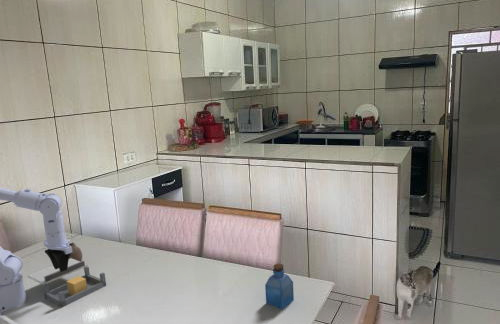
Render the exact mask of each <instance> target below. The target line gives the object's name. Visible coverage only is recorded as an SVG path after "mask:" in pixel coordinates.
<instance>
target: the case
mask: <svg viewBox="0 0 500 324" xmlns="http://www.w3.org/2000/svg"><path fill="white" fill-rule="evenodd" d="M83 270H84V271H83V273H84V275H81V277H82V278H85V279H86V284H87V289H85V290H83V291H80V292H78V293H76V294H74V295H70V294H68V287H67V282H66V283H64V284H62V285H59V286H57V287H56V288H53V289H50V287H49V283H47V284H45V285H43V284H42V286H43V287H42V289H43V294H44V299H46V300H48V301H49V302H51V303H53V304H54V305H57V306H58V307H61V308H64V307H67V306H68V305H71V304H73V303H75V302H76V301H79V300H80V299H83V298H84V297H87V296H89V295H91V294H92V293H94V292H97V291H99V290H101V289H103V288H104V287H106V286H107V280H106V273H105V272H99V277H96V276H94V275H92V274H91V273H90V267H89V266H86V267H84V268H83Z"/></svg>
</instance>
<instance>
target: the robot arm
mask: <svg viewBox="0 0 500 324" xmlns="http://www.w3.org/2000/svg"><path fill="white" fill-rule="evenodd" d="M1 200H2V201H7V202H12V203H13V204H14V205H15V206H16V208H21V209H22V208H23V209H27V210H31V211H36V212H38V211H39V212H40V214H41V215H42V218H43V226H44V231H45V232H44V233H45V238H46V239H44V240H43V246H44V247H46V249H45V250H44V253H45V254H46V255H47V257H48V258H49V259H50V261H51V264H52V266H54V268H55V269H58V268H59V269H60V271H61V272H63V271H65V270H67V268H68V261H69V257H70V254H71V253H72V247H71V246H70V245H69V244H70V243H71V240H70V239H68V238H67V237H66V230H65V223H64V217H63V211H62V208H61V207H62V205H63V199H62V198H61V196H59V195H58V194H55V193H48V194H47V192H43V193H41V192H37V191H33V190H32V189H31V188H25V189H23V188H22V189H20V190H18V191H16V190H13V189H12V190H11V189H8V188H4V187H2V186H1V187H0V201H1ZM23 266H24V262H23V260H22V258H20V257H19V256H18V255H15V254H13V252H11V251H10V250H7V249H4V248H3V247H2V246H1V245H0V316H5V314H4V313H5V312H6V311H9V310H11V309H15V308H17V307H19V306H22V305H24V304H25V303H26V302H27V294H26V289H25V283H24V278H23V274H22V272H21V270H22V268H23Z"/></svg>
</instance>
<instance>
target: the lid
mask: <svg viewBox="0 0 500 324" xmlns="http://www.w3.org/2000/svg"><path fill="white" fill-rule="evenodd" d="M84 267H89V265H88V264H87V263H85V261H84V260H82V261H81V262H80V261H77V260H74V259H72V258H70V259H69V261H68V268H67V270H65V271H63V272H61V271H60V269H59V268H58V269H55V268H54V266H53V265H51V266H48V267H46V268H44V269H40V270H39V271H35V272H33V273H31V274H28V275H27V278H29V279H31V280H32V281H35V282H37V283H39V284H41V285H42V286H43V285H45V284H49V283H52V282H54V281H56V280H58V279H61V278H63V277H65V276H67V275H70V274H72V273H74V272H77V271H80V270H81V269H84Z"/></svg>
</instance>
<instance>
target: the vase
mask: <svg viewBox="0 0 500 324" xmlns="http://www.w3.org/2000/svg"><path fill="white" fill-rule="evenodd" d="M68 244H69V245H70V246H71V247H72V253H71V254H70V257H69V259H70V258H72V259H74V260H77V261H80V262H81V261H83V252H82V250H81V248H80V247H79V246H77V245H76V243H75V242H69V243H68Z"/></svg>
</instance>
